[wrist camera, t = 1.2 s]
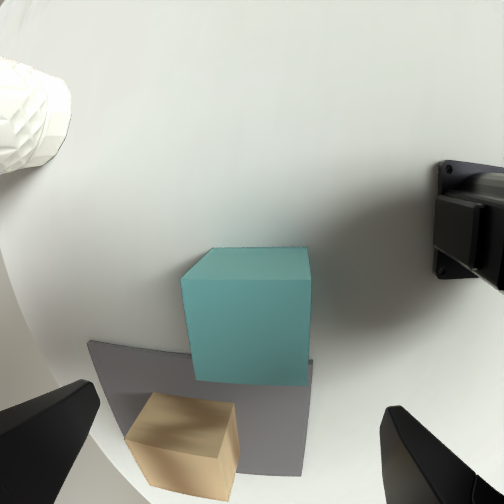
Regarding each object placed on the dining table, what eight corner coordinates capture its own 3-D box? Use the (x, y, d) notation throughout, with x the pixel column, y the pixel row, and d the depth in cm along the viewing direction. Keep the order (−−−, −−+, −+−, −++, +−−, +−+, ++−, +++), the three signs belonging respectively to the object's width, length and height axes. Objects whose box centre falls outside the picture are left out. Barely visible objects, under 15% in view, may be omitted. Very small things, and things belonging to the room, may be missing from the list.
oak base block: (234, 402, 18) (217, 458, 14) (240, 452, 20) (228, 501, 15) (153, 391, 19) (123, 438, 14) (170, 442, 21) (149, 485, 16)
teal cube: (306, 246, 16) (311, 279, 11) (305, 330, 17) (306, 385, 12) (213, 247, 16) (180, 278, 12) (220, 329, 18) (196, 380, 13)
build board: (312, 359, 17) (312, 364, 17) (301, 472, 20) (301, 476, 20) (90, 340, 20) (86, 343, 19) (133, 448, 23) (131, 451, 22)
